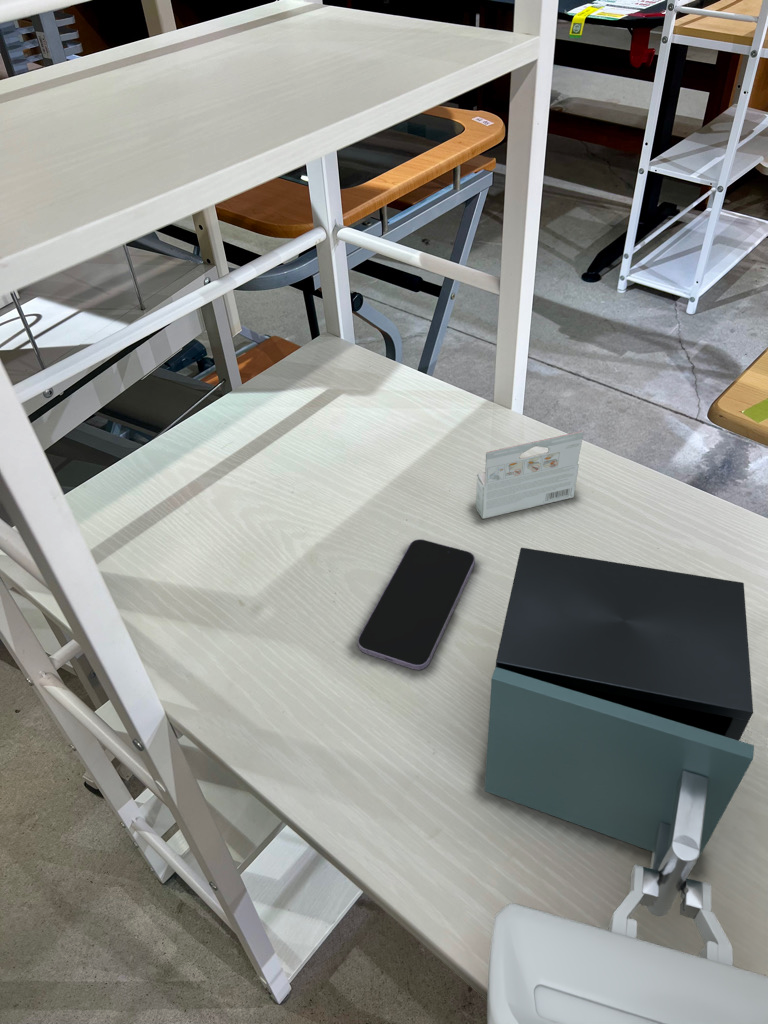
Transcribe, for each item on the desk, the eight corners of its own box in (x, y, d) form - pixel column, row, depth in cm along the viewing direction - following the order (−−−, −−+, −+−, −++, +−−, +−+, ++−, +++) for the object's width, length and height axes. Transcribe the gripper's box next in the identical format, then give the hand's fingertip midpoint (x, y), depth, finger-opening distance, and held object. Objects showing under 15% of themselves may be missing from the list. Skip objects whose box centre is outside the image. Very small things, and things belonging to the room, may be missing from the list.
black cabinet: (695, 827, 57) (753, 713, 46) (487, 778, 61) (495, 661, 50) (694, 705, 64) (744, 582, 54) (509, 668, 68) (520, 546, 57)
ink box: (474, 507, 84) (476, 439, 78) (565, 486, 86) (575, 417, 79) (481, 521, 83) (484, 453, 76) (575, 499, 84) (585, 430, 78)
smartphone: (353, 645, 70) (413, 536, 80) (354, 652, 71) (413, 543, 81) (424, 669, 68) (478, 553, 77) (425, 675, 69) (478, 561, 78)
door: (684, 948, 51) (745, 852, 40) (460, 859, 56) (463, 753, 45) (695, 854, 55) (754, 744, 45) (488, 780, 60) (495, 666, 50)
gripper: (924, 1233, 33) (874, 906, 42) (464, 1070, 38) (512, 813, 47) (870, 1241, 37) (836, 943, 46) (464, 1094, 42) (507, 854, 52)
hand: (669, 876), depth 47 cm, fingers closed on door, 2 cm apart
